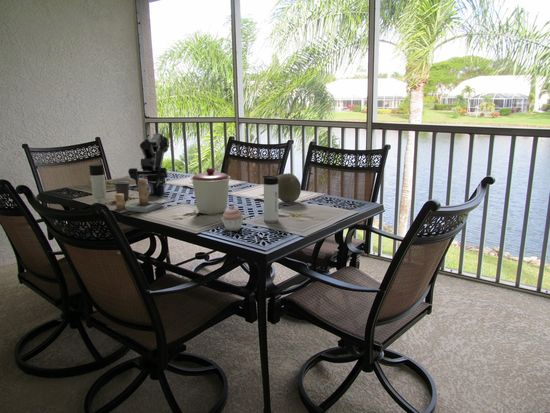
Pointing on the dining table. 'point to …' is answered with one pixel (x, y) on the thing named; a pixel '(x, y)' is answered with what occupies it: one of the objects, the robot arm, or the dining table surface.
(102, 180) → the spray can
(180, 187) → the dining table surface
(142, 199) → the tall pin
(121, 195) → the short pin
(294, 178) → the cantaloupe
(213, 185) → the canister
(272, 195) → the travel mug
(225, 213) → the cupcake
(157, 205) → the hole plate
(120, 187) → the coffee cup
